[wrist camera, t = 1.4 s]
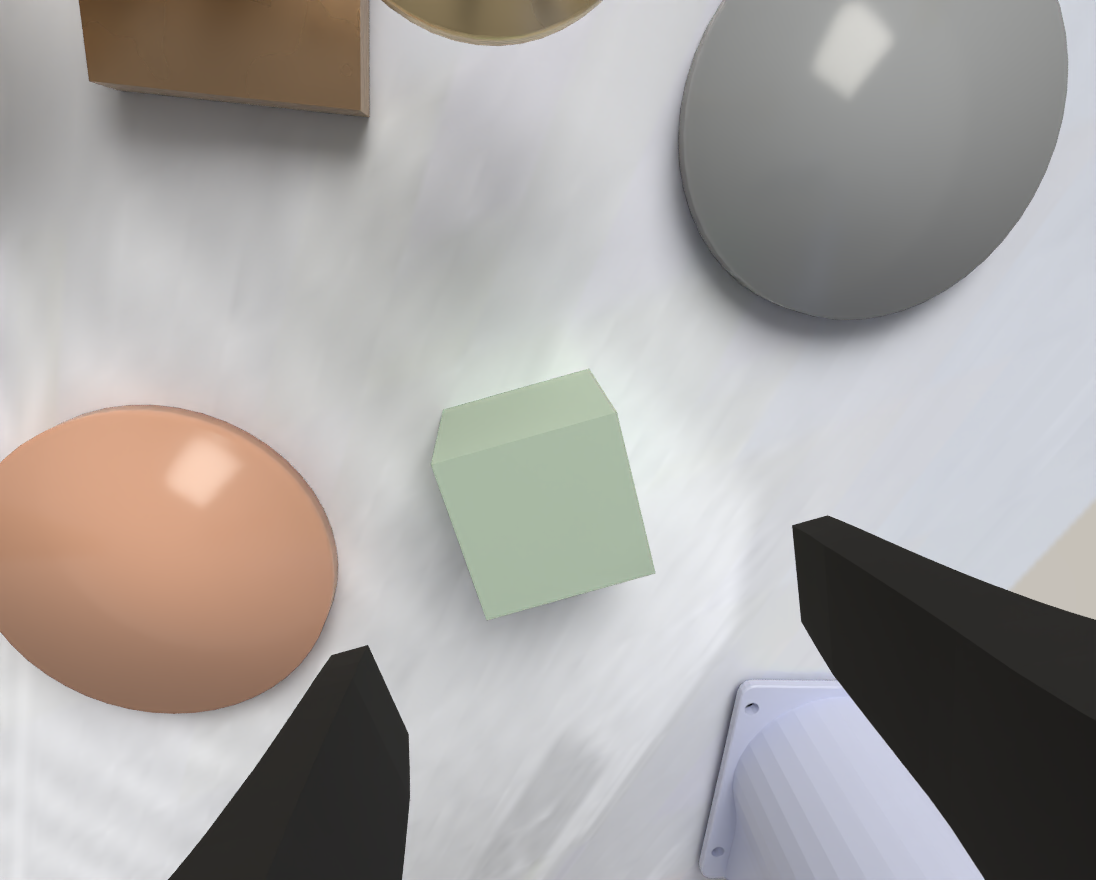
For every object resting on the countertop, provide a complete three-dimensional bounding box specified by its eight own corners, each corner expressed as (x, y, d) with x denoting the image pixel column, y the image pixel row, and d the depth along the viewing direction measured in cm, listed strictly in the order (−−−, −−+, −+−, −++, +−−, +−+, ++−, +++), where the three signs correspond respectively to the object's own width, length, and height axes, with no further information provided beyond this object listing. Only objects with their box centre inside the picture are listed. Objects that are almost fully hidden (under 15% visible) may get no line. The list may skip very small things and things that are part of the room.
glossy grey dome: (972, 326, 20) (996, 332, 19) (653, 301, 19) (662, 305, 18) (1090, -65, 17) (1127, -82, 16) (712, -125, 15) (727, -147, 14)
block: (621, 499, 21) (655, 573, 17) (486, 537, 21) (486, 620, 17) (588, 368, 19) (616, 412, 15) (443, 409, 19) (430, 464, 15)
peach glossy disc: (340, 693, 22) (334, 714, 21) (25, 690, 21) (3, 712, 20) (335, 415, 19) (327, 425, 18) (-39, 394, 18) (-69, 404, 17)
